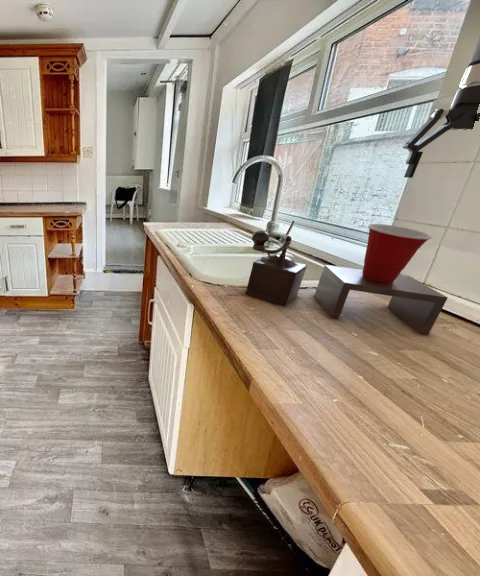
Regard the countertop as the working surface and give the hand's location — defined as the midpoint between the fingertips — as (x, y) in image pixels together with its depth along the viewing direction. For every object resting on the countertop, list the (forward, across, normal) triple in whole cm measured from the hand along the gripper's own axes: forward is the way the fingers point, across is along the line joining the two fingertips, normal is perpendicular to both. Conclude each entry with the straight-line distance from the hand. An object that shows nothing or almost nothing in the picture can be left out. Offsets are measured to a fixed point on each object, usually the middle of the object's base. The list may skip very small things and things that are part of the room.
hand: (439, 179), depth 82 cm
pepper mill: (+32, +38, +28) cm, 57 cm away
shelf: (+32, +16, +27) cm, 45 cm away
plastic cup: (+23, +16, +27) cm, 39 cm away
